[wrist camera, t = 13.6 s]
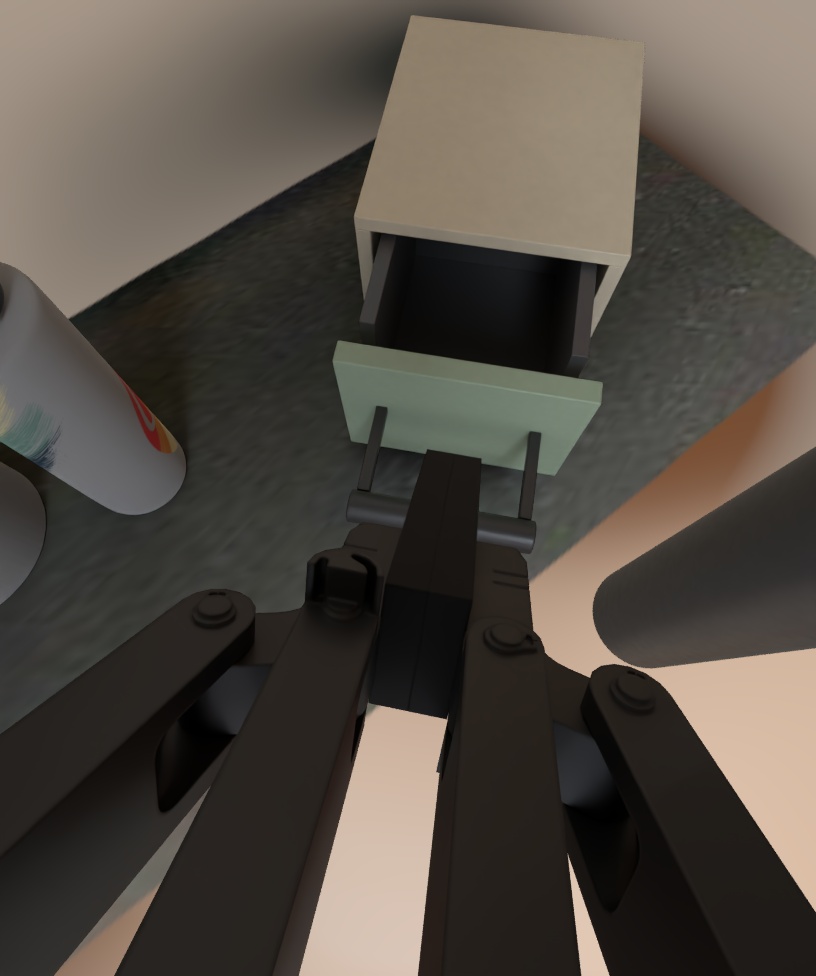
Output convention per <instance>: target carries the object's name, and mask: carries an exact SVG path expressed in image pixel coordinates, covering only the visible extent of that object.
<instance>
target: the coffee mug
mask: <svg viewBox="0 0 816 976" xmlns="http://www.w3.org/2000/svg"><path fill="white" fill-rule="evenodd" d="M45 530H46V515H45V509H44V506H43V503H42V500H41V497H40V495H39V493H38V491H37V490H36V488H35V487H34V486H33V484H32V483H31V482H30V481H29V480H28V479H27V478H26V477H24V476H23V475H22V474H20V473H19V472H17V471H16V470H14V469H12V468H10V467H9V466H7V465H5V464H3V463H2V462H0V604H2V603H3V602H4V601H5V600H6V599H8V598H9V597H10V596H11V595H12V594H13V593H14V592H15V591H16V590H17V589H18V588H19V587H20V585H21V584H22V583H23V582H24V580H25V579H26V578H27V577H28V575H29V574H30V572H31V570H32V569H33V567H34V565H35V564H36V561H37V559H38V557H39V555H40V552H41V549H42V546H43V542H44V536H45Z"/></svg>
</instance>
